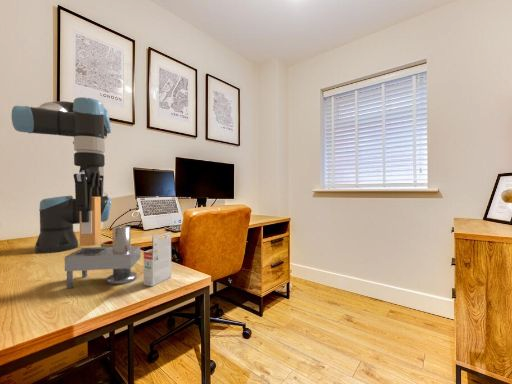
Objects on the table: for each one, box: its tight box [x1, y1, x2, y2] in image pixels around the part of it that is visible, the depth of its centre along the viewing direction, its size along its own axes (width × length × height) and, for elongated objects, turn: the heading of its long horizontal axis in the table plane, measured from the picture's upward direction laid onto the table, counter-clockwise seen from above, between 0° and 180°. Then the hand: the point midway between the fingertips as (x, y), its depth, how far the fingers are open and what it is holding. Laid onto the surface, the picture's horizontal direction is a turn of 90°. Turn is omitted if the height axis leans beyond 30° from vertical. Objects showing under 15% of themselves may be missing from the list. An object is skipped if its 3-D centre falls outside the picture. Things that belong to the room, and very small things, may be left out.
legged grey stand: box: [64, 225, 141, 290], centre depth 76 cm, size 17×10×16 cm, turn 100°
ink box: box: [143, 230, 172, 287], centre depth 76 cm, size 4×8×15 cm, turn 158°
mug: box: [100, 240, 113, 247], centre depth 100 cm, size 12×7×7 cm, turn 37°
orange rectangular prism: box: [79, 197, 102, 247], centre depth 75 cm, size 4×4×14 cm
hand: (90, 231), depth 75 cm, fingers closed on orange rectangular prism, 4 cm apart
